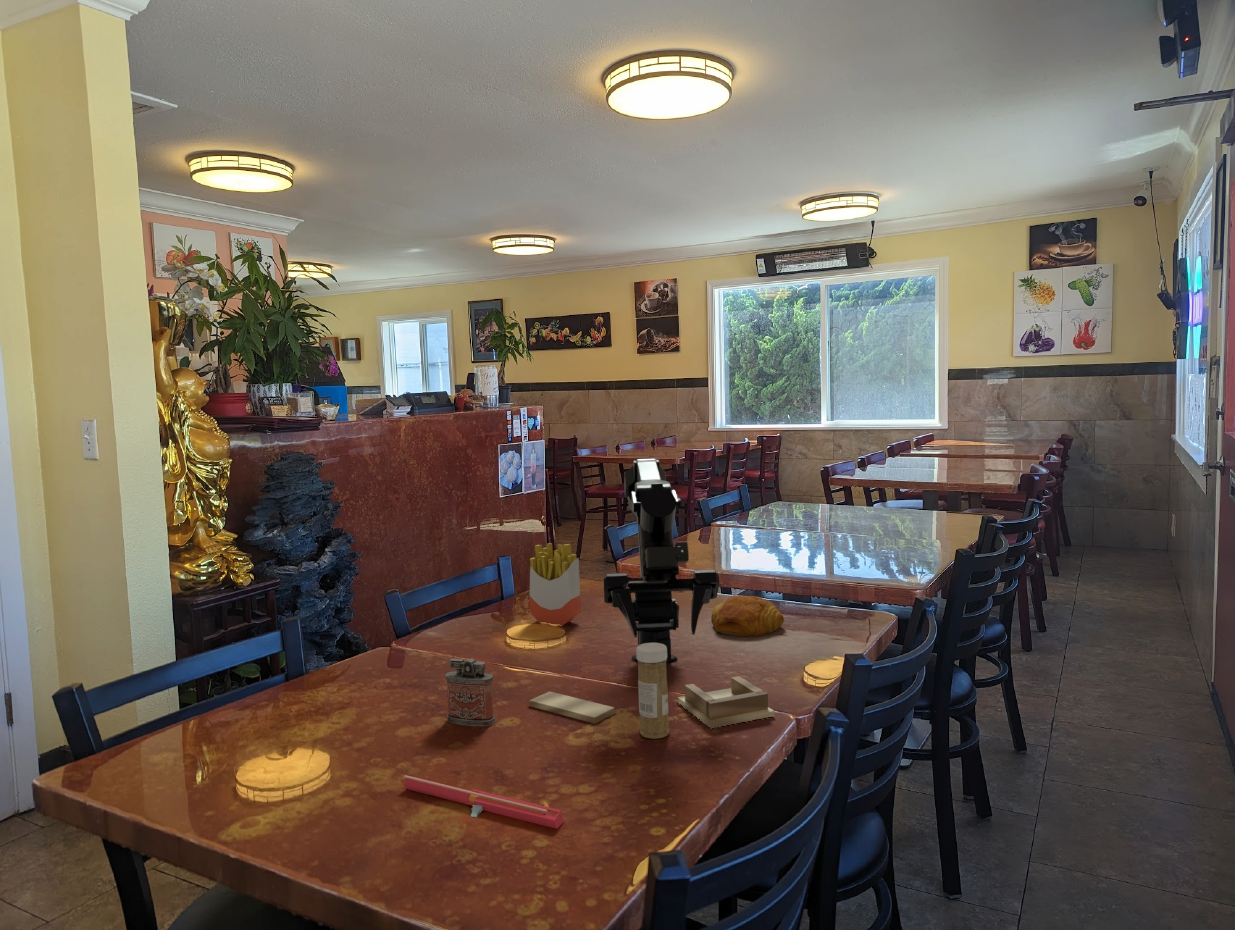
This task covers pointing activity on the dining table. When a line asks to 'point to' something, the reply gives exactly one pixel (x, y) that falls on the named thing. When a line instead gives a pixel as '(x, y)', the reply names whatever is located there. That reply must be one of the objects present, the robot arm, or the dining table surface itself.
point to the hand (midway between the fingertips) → (664, 635)
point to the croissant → (746, 616)
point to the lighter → (469, 693)
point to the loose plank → (572, 707)
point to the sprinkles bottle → (653, 690)
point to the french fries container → (554, 585)
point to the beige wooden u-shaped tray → (727, 703)
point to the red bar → (488, 802)
